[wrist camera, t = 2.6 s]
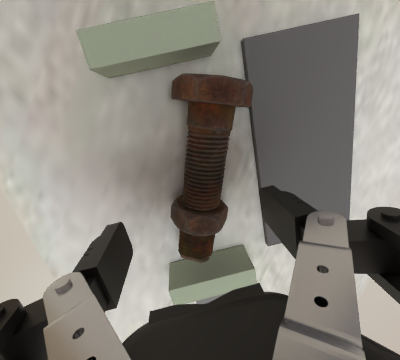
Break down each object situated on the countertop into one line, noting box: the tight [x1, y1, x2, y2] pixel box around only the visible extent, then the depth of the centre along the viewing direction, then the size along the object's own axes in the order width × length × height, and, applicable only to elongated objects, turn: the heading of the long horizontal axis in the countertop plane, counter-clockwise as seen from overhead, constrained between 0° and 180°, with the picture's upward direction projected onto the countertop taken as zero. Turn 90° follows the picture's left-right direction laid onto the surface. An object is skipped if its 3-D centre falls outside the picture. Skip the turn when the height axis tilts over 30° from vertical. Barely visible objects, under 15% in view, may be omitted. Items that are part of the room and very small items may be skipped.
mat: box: [241, 14, 359, 246], centre depth 19 cm, size 19×9×1 cm, turn 12°
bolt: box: [171, 74, 253, 263], centre depth 17 cm, size 6×5×15 cm
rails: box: [76, 1, 257, 305], centre depth 18 cm, size 28×8×4 cm, turn 12°
